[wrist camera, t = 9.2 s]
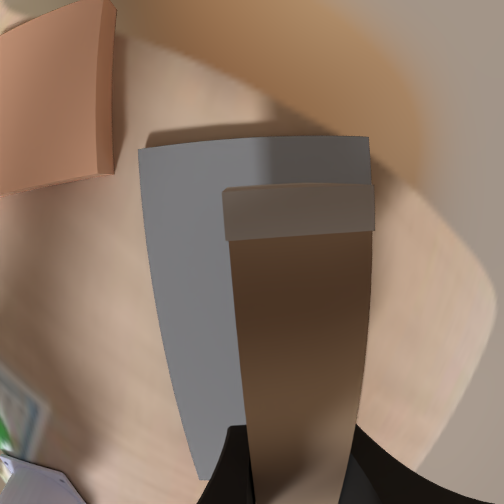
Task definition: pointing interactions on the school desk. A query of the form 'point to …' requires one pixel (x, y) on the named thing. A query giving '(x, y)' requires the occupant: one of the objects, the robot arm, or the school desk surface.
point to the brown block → (300, 329)
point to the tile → (57, 97)
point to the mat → (217, 260)
